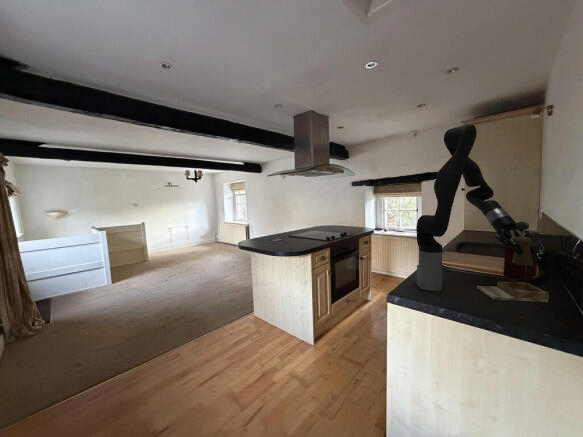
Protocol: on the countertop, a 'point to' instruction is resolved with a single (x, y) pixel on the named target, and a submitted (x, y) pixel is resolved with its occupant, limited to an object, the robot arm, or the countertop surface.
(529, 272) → the red coffee grinder
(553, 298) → the countertop surface
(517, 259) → the olive yellow waisted cylinder
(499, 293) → the socket board
